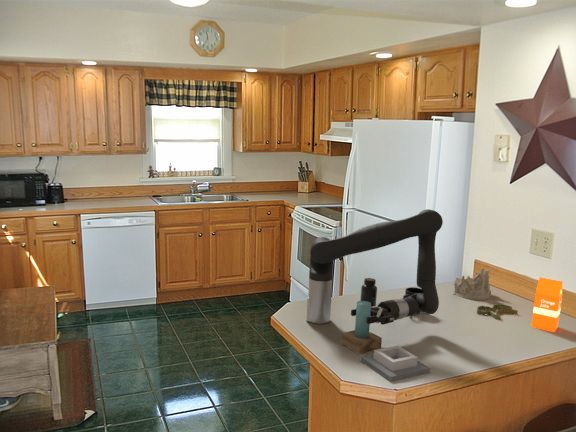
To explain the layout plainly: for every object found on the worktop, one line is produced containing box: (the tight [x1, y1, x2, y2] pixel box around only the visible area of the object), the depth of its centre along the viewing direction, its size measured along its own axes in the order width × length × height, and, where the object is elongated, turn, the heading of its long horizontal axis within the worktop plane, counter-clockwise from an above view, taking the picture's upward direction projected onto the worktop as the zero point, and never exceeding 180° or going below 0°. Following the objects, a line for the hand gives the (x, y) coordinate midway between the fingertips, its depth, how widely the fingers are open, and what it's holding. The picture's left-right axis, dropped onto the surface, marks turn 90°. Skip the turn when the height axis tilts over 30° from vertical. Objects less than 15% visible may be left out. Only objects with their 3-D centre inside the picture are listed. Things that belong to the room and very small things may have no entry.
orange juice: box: [530, 277, 564, 333], centre depth 222 cm, size 8×9×20 cm
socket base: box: [359, 345, 431, 382], centre depth 181 cm, size 16×16×4 cm
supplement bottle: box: [359, 277, 378, 307], centre depth 239 cm, size 7×7×12 cm
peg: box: [354, 300, 371, 338], centre depth 195 cm, size 5×5×12 cm
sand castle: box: [452, 267, 492, 301], centre depth 262 cm, size 16×16×15 cm
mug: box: [402, 287, 424, 315], centre depth 233 cm, size 8×12×10 cm
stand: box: [340, 329, 383, 355], centre depth 197 cm, size 10×10×4 cm
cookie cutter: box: [476, 303, 519, 320], centre depth 239 cm, size 18×12×2 cm, turn 123°
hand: (359, 316), depth 194 cm, fingers open, 8 cm apart
